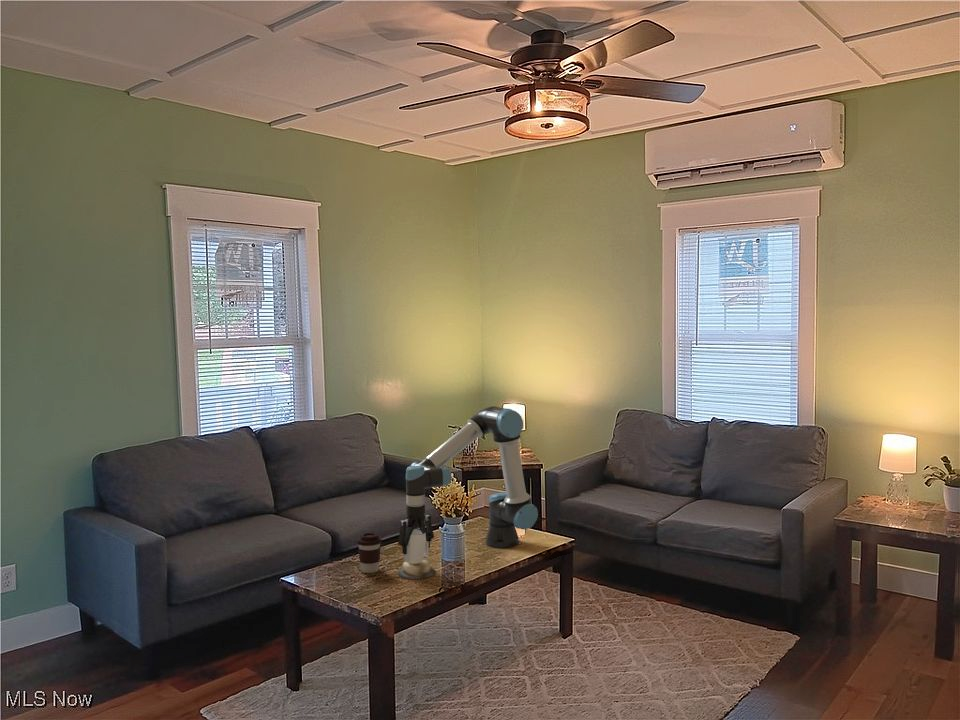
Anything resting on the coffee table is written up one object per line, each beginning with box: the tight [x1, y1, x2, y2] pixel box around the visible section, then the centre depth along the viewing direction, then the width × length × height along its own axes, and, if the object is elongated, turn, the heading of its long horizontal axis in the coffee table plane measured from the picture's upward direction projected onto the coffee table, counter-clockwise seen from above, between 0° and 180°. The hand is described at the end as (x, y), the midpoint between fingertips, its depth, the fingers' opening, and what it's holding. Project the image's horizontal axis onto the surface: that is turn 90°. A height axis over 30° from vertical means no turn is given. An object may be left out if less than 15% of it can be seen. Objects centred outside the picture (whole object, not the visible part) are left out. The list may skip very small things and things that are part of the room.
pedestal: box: [397, 559, 436, 581], centre depth 320 cm, size 15×15×4 cm
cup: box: [407, 528, 426, 564], centre depth 321 cm, size 9×9×12 cm
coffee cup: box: [356, 532, 382, 574], centre depth 324 cm, size 10×10×15 cm
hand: (416, 559), depth 320 cm, fingers closed on cup, 9 cm apart
